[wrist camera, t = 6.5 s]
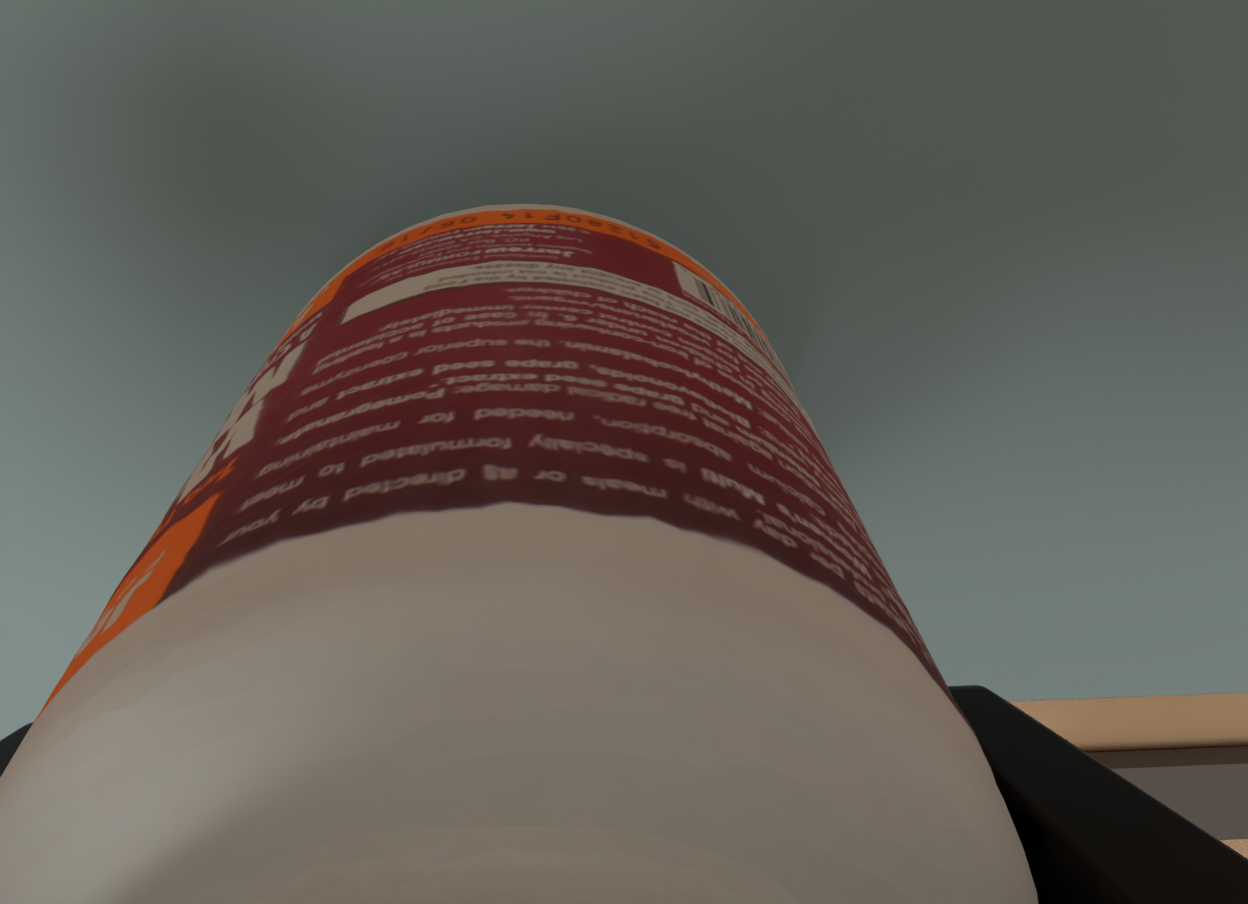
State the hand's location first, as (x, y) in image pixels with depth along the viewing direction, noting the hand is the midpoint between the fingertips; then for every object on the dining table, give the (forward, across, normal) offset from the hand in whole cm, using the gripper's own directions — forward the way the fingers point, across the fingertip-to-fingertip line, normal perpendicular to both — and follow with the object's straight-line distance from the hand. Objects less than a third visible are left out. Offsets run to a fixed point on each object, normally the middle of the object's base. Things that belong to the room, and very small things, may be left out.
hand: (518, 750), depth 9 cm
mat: (+7, 0, 0) cm, 7 cm away
